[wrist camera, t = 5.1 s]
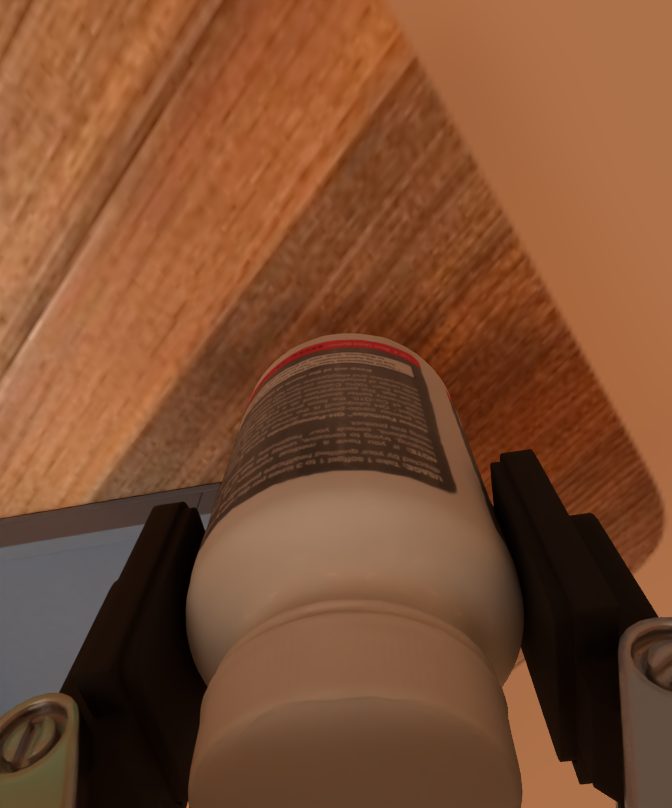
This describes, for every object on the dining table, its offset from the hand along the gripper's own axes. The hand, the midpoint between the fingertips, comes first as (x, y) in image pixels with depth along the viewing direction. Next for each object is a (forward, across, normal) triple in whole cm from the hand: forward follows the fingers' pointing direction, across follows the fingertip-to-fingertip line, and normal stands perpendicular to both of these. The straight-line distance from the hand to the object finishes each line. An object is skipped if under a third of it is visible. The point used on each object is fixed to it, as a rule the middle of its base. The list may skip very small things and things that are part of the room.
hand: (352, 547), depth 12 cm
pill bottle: (+5, 0, 0) cm, 5 cm away
